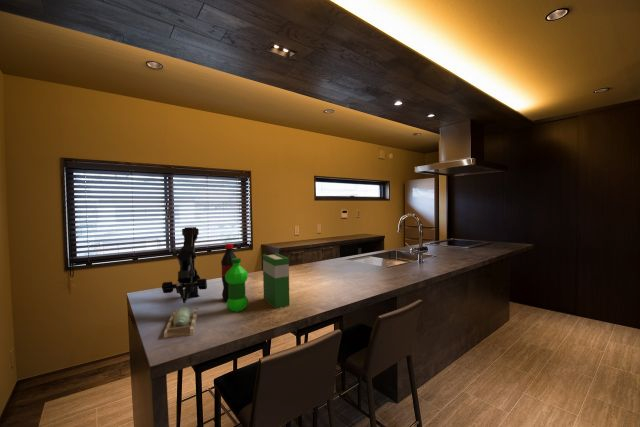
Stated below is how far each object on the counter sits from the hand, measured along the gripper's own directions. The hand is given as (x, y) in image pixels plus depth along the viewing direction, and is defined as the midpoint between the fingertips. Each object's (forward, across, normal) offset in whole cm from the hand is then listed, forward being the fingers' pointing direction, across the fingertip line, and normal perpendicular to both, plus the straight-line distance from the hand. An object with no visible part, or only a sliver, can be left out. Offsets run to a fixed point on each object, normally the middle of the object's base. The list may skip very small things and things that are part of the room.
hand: (184, 302), depth 131 cm
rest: (+10, 0, +1) cm, 10 cm away
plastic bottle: (+3, +23, +8) cm, 24 cm away
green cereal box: (0, +43, +11) cm, 44 cm away
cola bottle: (-9, +20, +20) cm, 30 cm away
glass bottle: (+4, 0, +2) cm, 5 cm away
